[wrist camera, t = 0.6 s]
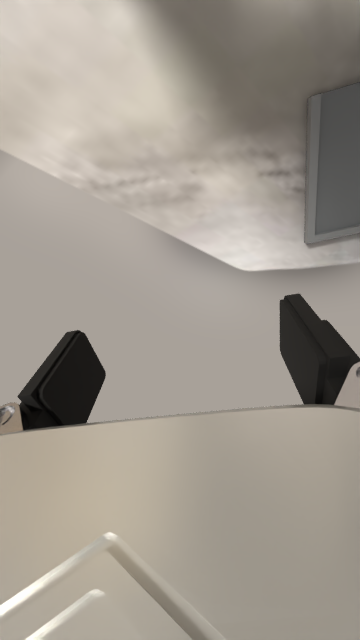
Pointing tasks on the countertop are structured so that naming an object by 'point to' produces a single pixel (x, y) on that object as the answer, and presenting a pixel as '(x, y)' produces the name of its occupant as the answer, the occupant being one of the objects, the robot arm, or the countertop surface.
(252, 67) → the countertop surface
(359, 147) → the grey rectangular tray
